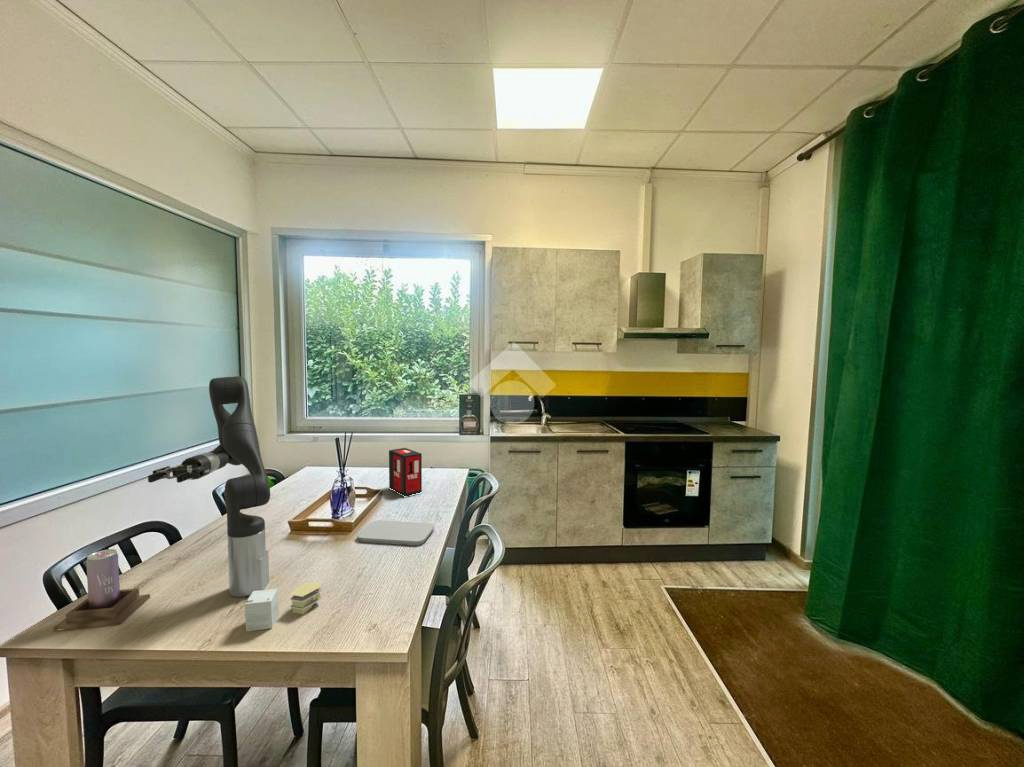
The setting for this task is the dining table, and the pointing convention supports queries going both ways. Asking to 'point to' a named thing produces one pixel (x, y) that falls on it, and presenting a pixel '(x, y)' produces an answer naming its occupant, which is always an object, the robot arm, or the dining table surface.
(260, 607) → the skincare box
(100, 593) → the beverage can
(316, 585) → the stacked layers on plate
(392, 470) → the cleaning product box
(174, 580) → the dining table surface
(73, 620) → the can holder
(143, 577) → the dining table surface
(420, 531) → the tablet
